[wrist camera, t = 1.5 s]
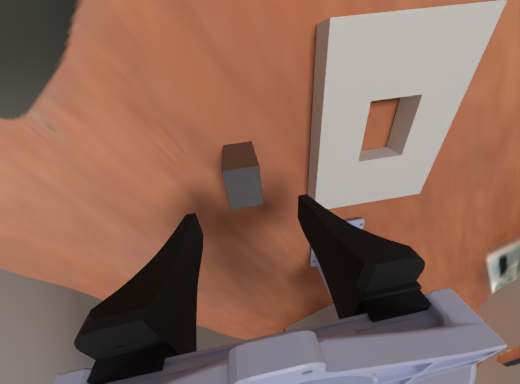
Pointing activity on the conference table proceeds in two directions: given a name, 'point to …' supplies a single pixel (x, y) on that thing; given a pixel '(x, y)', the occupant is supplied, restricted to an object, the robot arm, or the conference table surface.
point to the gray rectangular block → (241, 175)
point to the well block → (390, 95)
